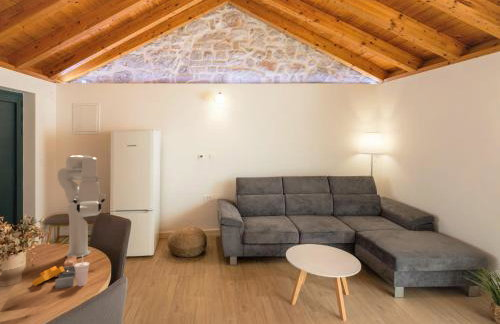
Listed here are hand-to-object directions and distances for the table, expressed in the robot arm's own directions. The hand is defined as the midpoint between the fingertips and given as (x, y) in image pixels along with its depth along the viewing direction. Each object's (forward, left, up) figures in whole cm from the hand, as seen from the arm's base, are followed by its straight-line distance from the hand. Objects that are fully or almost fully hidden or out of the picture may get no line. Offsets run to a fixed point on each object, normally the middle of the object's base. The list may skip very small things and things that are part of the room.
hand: (89, 211), depth 165 cm
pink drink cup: (+24, -2, -31) cm, 39 cm away
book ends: (+16, -9, -30) cm, 35 cm away
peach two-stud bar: (-1, -9, -31) cm, 32 cm away
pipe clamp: (+12, -19, -29) cm, 36 cm away
